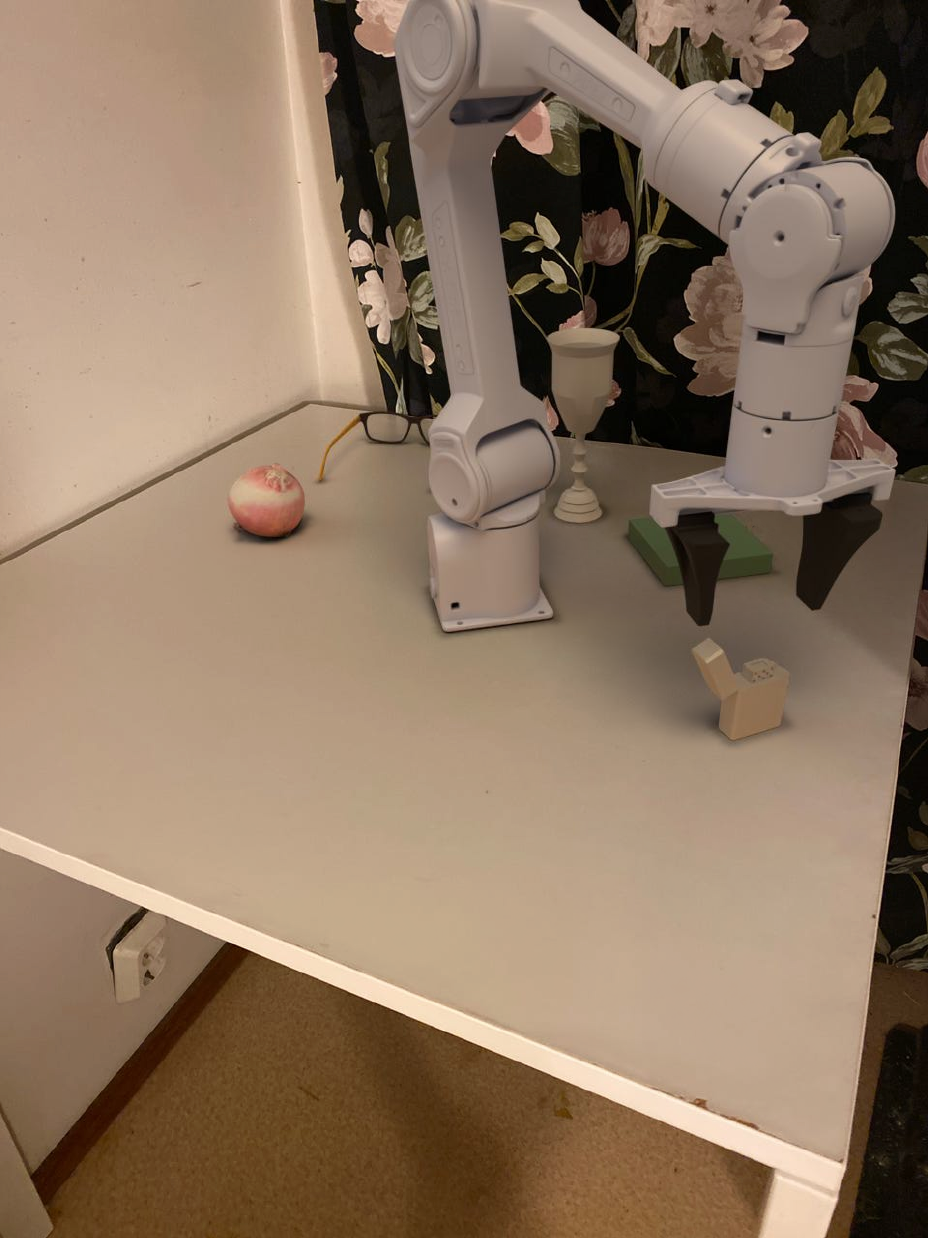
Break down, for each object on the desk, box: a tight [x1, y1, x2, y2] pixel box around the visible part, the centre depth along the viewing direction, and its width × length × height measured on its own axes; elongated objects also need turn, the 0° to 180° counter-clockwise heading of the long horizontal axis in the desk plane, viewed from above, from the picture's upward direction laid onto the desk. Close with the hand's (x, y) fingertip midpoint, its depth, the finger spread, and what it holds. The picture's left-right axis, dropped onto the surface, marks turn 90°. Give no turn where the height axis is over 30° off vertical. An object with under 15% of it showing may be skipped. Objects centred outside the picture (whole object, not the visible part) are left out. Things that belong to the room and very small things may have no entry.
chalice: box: [546, 327, 621, 524], centre depth 86 cm, size 7×7×18 cm
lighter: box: [691, 637, 791, 741], centre depth 58 cm, size 7×2×8 cm, turn 111°
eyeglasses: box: [318, 410, 439, 482], centre depth 104 cm, size 14×14×4 cm
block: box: [627, 514, 774, 587], centre depth 81 cm, size 10×10×2 cm
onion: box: [227, 462, 306, 538], centre depth 88 cm, size 8×8×7 cm
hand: (753, 610), depth 56 cm, fingers open, 7 cm apart
